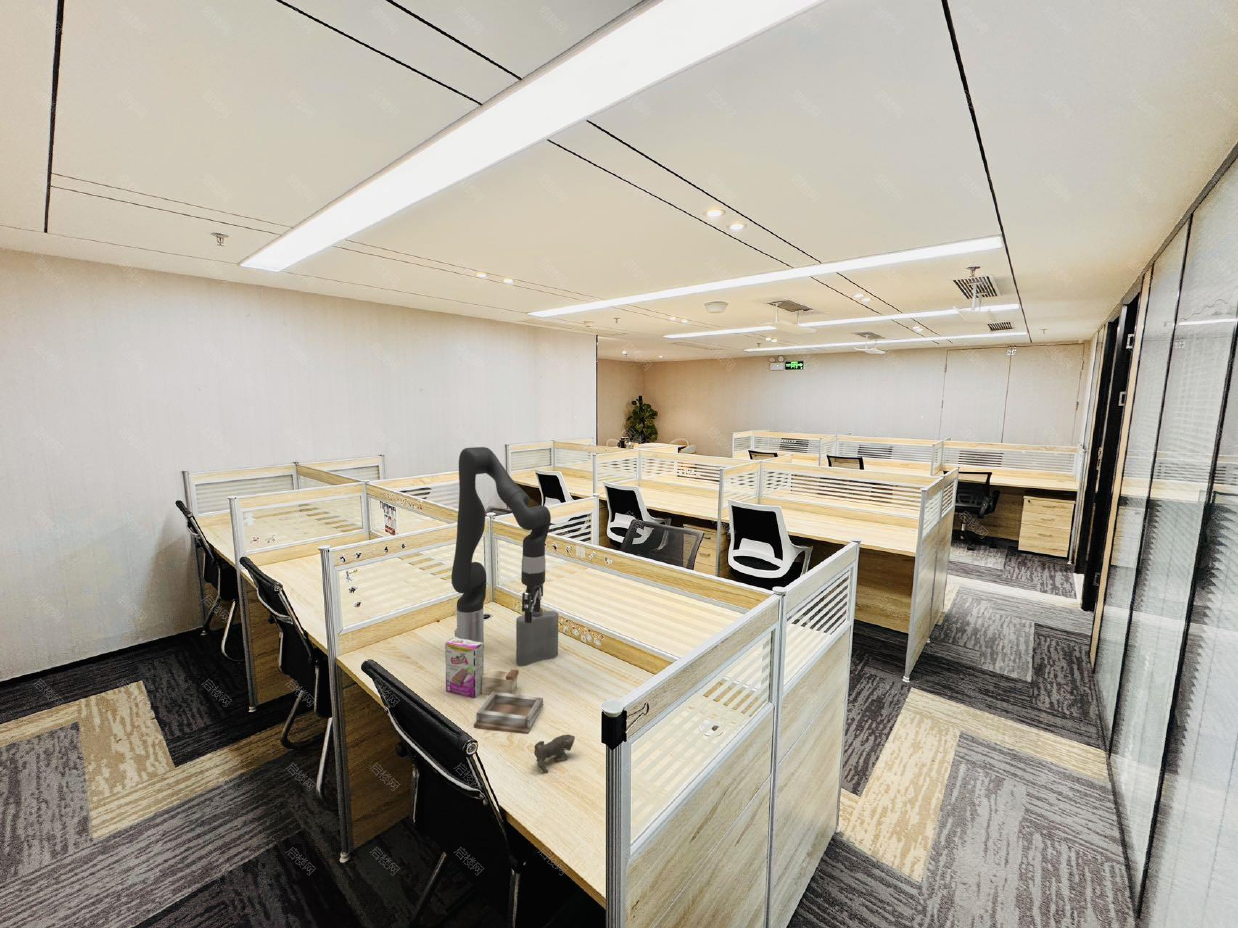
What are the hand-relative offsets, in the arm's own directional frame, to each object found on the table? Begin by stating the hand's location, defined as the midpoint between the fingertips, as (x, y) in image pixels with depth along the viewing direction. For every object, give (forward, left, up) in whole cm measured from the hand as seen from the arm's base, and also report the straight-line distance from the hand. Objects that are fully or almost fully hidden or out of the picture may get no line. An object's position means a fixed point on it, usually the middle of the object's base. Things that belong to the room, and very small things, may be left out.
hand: (532, 616), depth 163 cm
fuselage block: (-8, -7, -23) cm, 25 cm away
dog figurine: (+18, -33, -23) cm, 44 cm away
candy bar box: (-19, -9, -23) cm, 31 cm away
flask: (-3, +13, -23) cm, 27 cm away
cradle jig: (0, -18, -23) cm, 29 cm away
